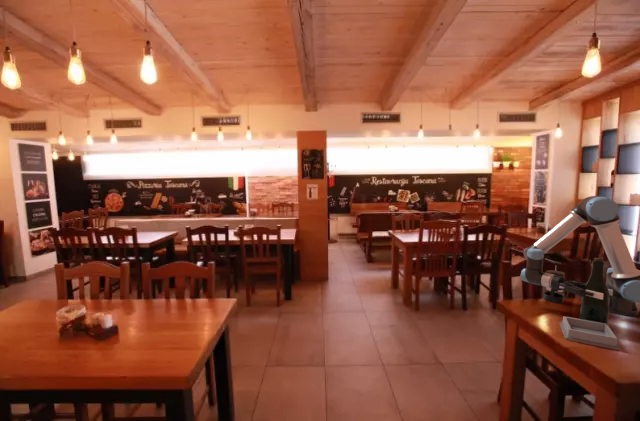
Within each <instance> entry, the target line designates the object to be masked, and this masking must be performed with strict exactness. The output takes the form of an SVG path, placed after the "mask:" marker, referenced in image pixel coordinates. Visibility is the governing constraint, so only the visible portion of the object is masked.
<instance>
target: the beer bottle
mask: <svg viewBox="0 0 640 421" xmlns="http://www.w3.org/2000/svg"><path fill="white" fill-rule="evenodd" d="M591 262H592V264H591V266H592V267H591V272H590V276H589V278H588V281H587V282H585V283H586V285H585V287H584V290H585V291H586V290H590V291H594V292H599V293H603V300H602V299H598V298H594V297H590V296H586V295H585V297H582V296H581V301H580V311H579V312H580V313H579V319H582V320H588V321H594V322H600V323H605V324H607V325H608V326H609V318H610V315H609V314H610V312H609V304H610V295H609V290H608V288H607V285H606V280H605V261H604V259H603V258H601V257H594V258H593V260H592V261H591Z"/></svg>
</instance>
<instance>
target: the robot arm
mask: <svg viewBox="0 0 640 421" xmlns="http://www.w3.org/2000/svg"><path fill="white" fill-rule="evenodd" d="M620 220H621V218H620V215H619V205H618V204H617V202H616V201H615V200H613V199H611V198H610V197H606V196H597V195H590V196H587V197H586V198H583V199H582V200H581V201H579V202H578V204H576V205H575V206H574V207H573V208H572V209H570V211H569V214H568V215H566V216H565V217H564V218H563V219H561V221H559V222H558V223H557V224H556V225H554V226H553V227H552V228H550V229H549V231H547V232H546V233H544V235H543V236H541V237H539V239H538V240H536V241H535V242H534V243H533V244H532V245H530V246H528V247H526V248H524V249H523V253H522V254H523V257H524V259H525V260H526V268H525V267H524V268H523V269H522V270H521V271H520V272H521V273H520V280H522V281H523V282H525V283H529V284H533V285H535V286H537V285H538V286H541V287H544V288H545V287H546V288H553V289H555V290H559V291H561V290H564V292H565V291H566V292H567V291H568V293H571V294H575V295H577V296H581V298H582V297H585V295H586V296H590V297H594V298H598V299H602V300H603V293H599V292H594V291H590V290H586V291H585V290H584V287H585V285H586V283H587V282H582V281H581V282H580V281H576V280H566V279H565V276H564V277H562V276H558V275H554V274H549V273H547V272H543V266H544V257H545V254H546V253H547V252H549V250H551V249H552V248H553V247H555V246H556V245H557V244H558V243H559V242H561V241H562V240H564V239H565V238H566V237H567V236H568V235H570V234H571V233H572V232H573V231H575V230H576V229H577V228H579V226H581V225H582V224H586V223H589V224H590V226H591V227H594V228H595V230H596V232H597V234H598V237H599V239H600V242H601V244H602V247H603V250H604V252H605V254H606V257H607V260H608V262H609V263H610V266H611V267H608V268H607V271H606V280H605V283H606V285H607V288H608V290H609V295H610V304H609V313H612V314H616V315H621V316H629V317H630V316H631V317H635V316H639V308H638V305H637V303H638V304H639V303H640V270H639V269H637V267H636V264H635V262H634V260H633V258H632V255H631V253H630V250H629V248H628V246H627V243H626V241H625V238H624V236H623V234H622V231H621V229H620V227H619V224H618V223H619V222H620Z"/></svg>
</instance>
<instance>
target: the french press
mask: <svg viewBox="0 0 640 421" xmlns="http://www.w3.org/2000/svg"><path fill="white" fill-rule="evenodd" d="M551 263H552V264H554V265H555V270H551V269H550V270H546V271H545V273H549V274H554V275H558V276H562V277H564V278H565V275H566V273H565V272H564V271H559V270H557V266H558V264H559V265H560V264H561V262H560V261H551ZM564 293H565V290H561V291H559V290H555V289H553V288H546V287H544V297H543V300H545V301H547V302H549V303H552V304H553V303H554V304H563V303H564V302H565V300H564V299H568V298H569V292H568V291H566V296H565V294H564Z"/></svg>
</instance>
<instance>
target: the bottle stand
mask: <svg viewBox="0 0 640 421" xmlns="http://www.w3.org/2000/svg"><path fill="white" fill-rule="evenodd" d="M559 326H560V328H561V332H562V334H563V336H564V339H565V340H566V341H571V342H576V343H581V344H585V345H590V346H595V347H600V348H606V349H610V350H616V351H621V347H620V345H619V344H618V337H617V336H616V335H615V334H614V332H613V331H612V329H611V328H610V326H609V324H608V325H607V324H605V323H600V322H594V321H588V320H582V319H580V318H576V317H570V316H562V321H560V322H559Z"/></svg>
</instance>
